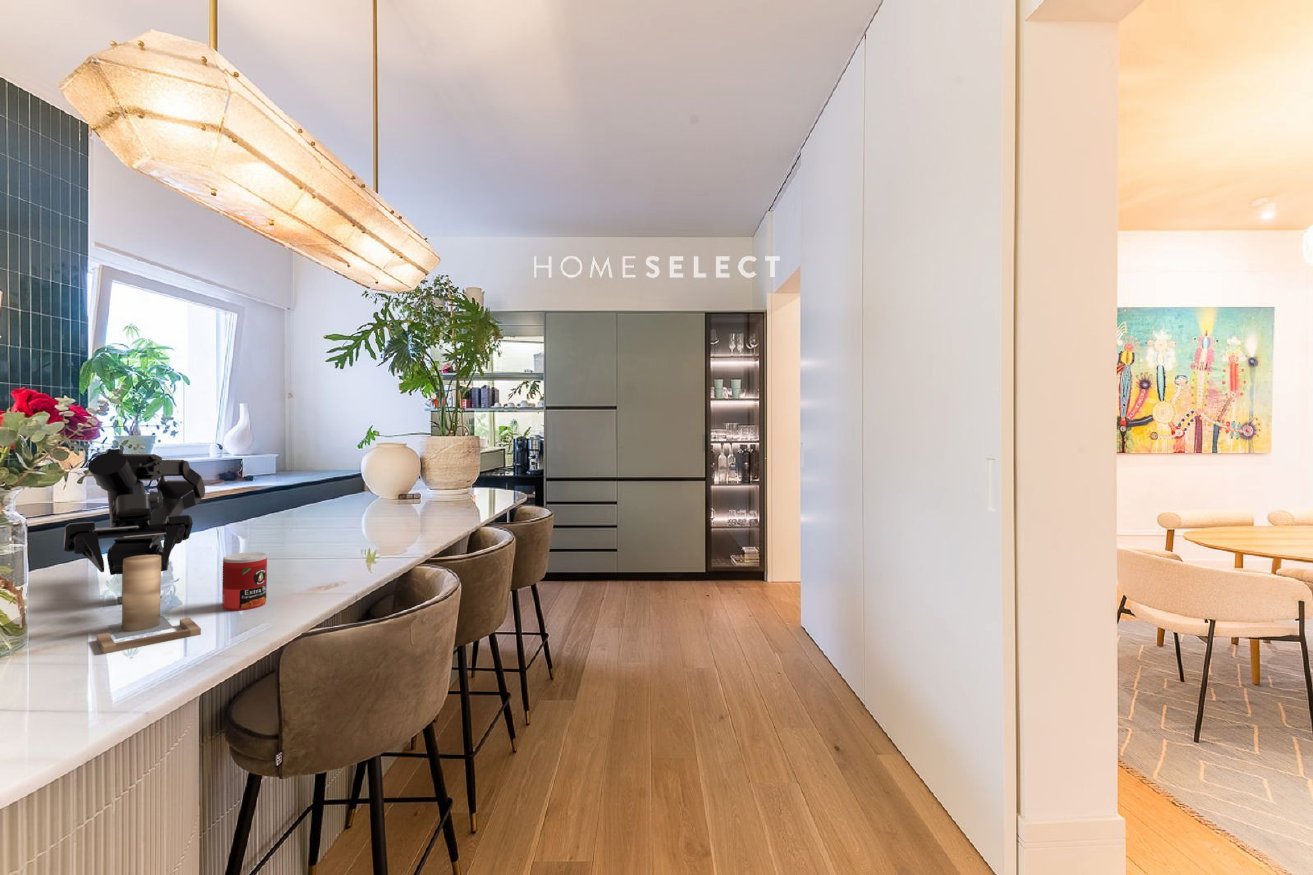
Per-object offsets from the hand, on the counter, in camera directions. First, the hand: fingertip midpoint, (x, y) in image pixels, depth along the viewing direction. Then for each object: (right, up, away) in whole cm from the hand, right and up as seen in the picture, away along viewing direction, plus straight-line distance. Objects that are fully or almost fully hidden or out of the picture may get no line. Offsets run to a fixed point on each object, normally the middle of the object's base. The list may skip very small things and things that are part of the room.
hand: (135, 566), depth 113 cm
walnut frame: (+9, -11, -8) cm, 17 cm away
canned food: (+13, -11, +12) cm, 21 cm away
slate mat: (+3, -11, -2) cm, 12 cm away
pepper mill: (+3, -11, -2) cm, 11 cm away
